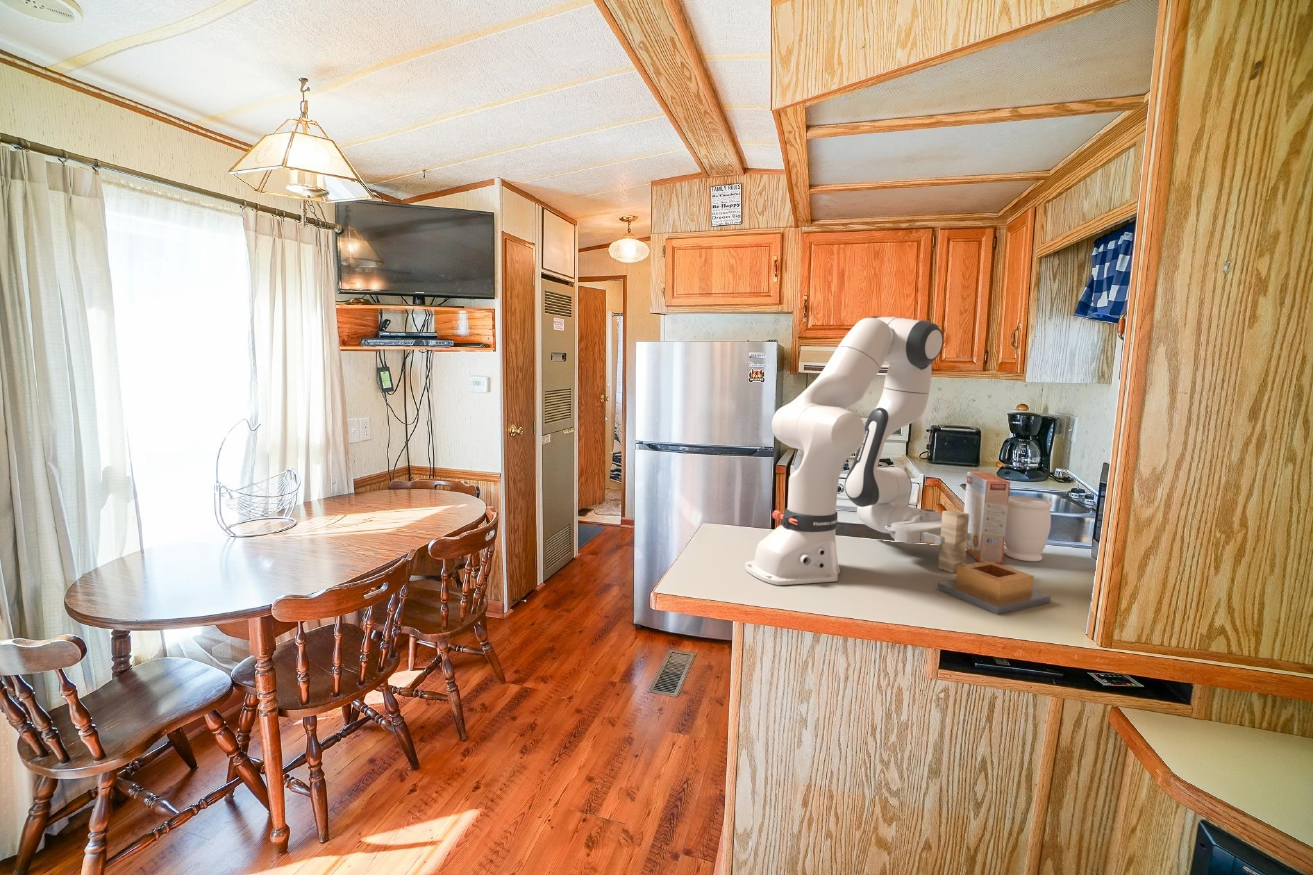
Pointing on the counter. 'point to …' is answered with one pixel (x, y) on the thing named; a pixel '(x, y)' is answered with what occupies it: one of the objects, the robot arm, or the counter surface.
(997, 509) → the cracker box
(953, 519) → the wedge pin
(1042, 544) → the jar
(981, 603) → the socket base
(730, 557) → the counter surface
